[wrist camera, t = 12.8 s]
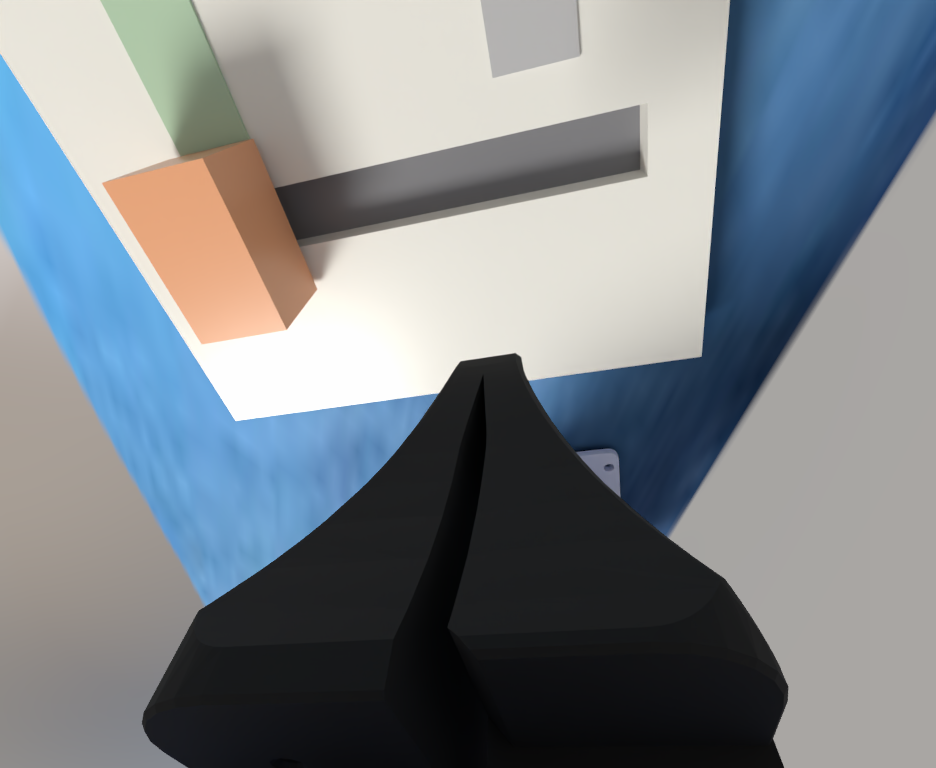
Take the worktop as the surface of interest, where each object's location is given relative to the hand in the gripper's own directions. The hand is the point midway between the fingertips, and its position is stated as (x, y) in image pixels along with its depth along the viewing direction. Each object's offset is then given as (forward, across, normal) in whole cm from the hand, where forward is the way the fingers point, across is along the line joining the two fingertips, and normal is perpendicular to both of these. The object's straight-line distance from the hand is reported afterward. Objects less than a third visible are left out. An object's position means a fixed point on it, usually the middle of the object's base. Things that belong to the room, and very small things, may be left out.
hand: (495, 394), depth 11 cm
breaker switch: (+8, +8, -3) cm, 12 cm away
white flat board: (+9, +3, -3) cm, 10 cm away
